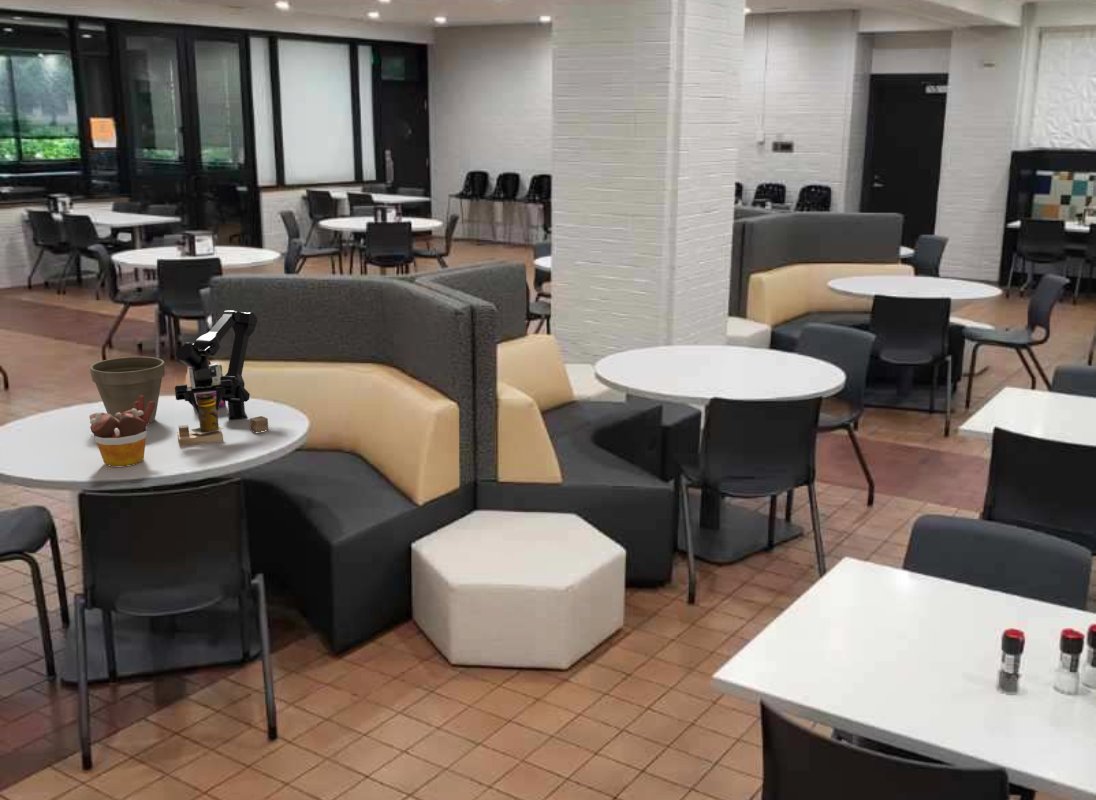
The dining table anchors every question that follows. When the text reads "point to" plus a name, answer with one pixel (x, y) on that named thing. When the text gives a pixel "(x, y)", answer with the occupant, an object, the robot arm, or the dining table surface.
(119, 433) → the bucket of meat
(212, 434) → the foundation
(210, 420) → the condiment
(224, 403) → the candy bar box
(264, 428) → the block
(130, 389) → the plant pot
